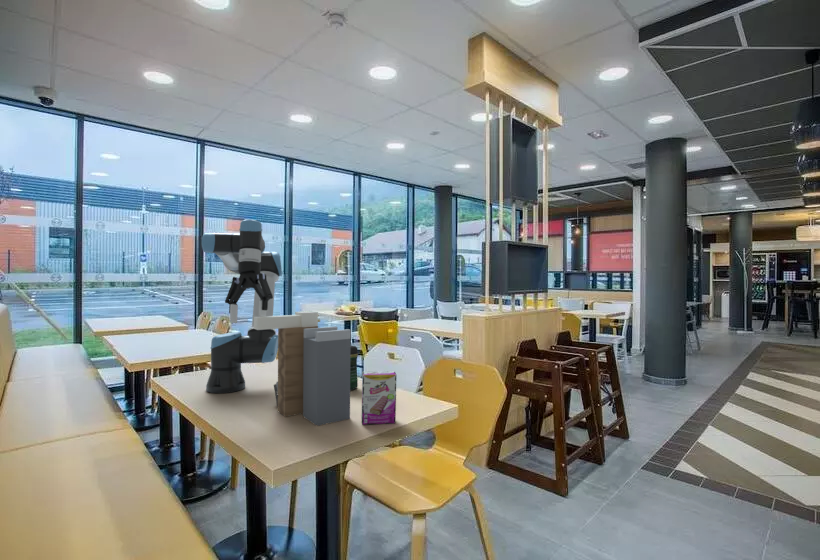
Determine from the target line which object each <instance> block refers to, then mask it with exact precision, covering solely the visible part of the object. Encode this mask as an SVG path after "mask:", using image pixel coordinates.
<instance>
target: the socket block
mask: <svg viewBox="0 0 820 560" xmlns="http://www.w3.org/2000/svg"><path fill="white" fill-rule="evenodd" d="M351 331H352V330H351V329H349V328H346V329H338V326H324V327H318V328H307V329H304V353H303V413H302V417H303V416H304V417H305V418H304V417H303V418H304V419H306V420H307V419H308V421H309V422H310V421H311V423H312V424H313V423H314V424H313V425H315V426H316V425H318V426H321V425H322V424H323V425H326V423H328V424H331V422H332V423H336V421H337V422H340V421H341V422H342V421H346V420H349V419H351V390H350V347H351V346H352V345H351V337H352V336H351V335H352V334H351ZM345 419H346V420H345Z"/></svg>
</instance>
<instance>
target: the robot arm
mask: <svg viewBox="0 0 820 560" xmlns="http://www.w3.org/2000/svg"><path fill="white" fill-rule="evenodd" d="M238 230H239V233H224V232H223V233H220V232H207V233H206V232H205V233H203V235H202V237H201V248H202V251H203V252H204V253H208V254H216V256H218V258H219V259H221V261H222V262H223V263H222V264H223V266H224V267H225V268H226V269H227V270H229V271H230V272H232V273H235V274H238V275H239V277H236V276H232V280H231V285H230V288H229V290H228V292H227V294H226V297H225V300H224V303H225V304H227V305H228V306H229V307H228V308H229V309H228V310H229V311H228V312H229V323H232V324H237V323H238V313H239V311H238V310H239V309H238V308H239V304H238V302H239V300H240V299H241V297H242V296H243V294H244V292H245V291H246V290H248V289H253V290H254V295H253V307H252V319H251V328H249V329H248V330H247V335H242V333H241V331H234V332H228V333H227V332H226V333H221V334H218V335H215V336H213V337H212V338H211V340H210V341H211V344H210V345H211V346H210V373H209V377H208V378H207V379H208V380H207V382H206V385H205V387H206V389H205V390H206V392H208V393H211V394H229V393H235V392H238V391H239V392H240V391H242V390H244V389H245V388H246V380H245V377H244V375H243V372H242V371H243V370H242V364H260V363H261V364H265V363H273V362H274V361H275V360H276V358H277V356H278V334H276V333H277V332H276V330H275V329H265V330H256V329H254V317H262V316H274V307H275V306H274V305H275V302H274V301H275V287H276V282H277V281H279V277H282V276H283V270H282V264H281V263H282V261H281V255H280V253H279V252H277V251H270V250H269V251H265V249H266V241H265V239H264V238H263V233H262V232H263V226H262V223H261V222H260V221H259V220H255V219H244V220H241V222H240V224H239V229H238Z"/></svg>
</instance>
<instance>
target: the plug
mask: <svg viewBox="0 0 820 560" xmlns="http://www.w3.org/2000/svg"><path fill="white" fill-rule="evenodd" d="M319 316H320V315H319V312H318V311H313V310H311V311H310V310H308V311H307V310H305V311H294V314H289V315H288V314H287V315H286V314H285V315H273V316H262V317H254V329H256V330H265V329H273V330H275V329H277V330H278V329H280V328H295V327H315V326H318V327H319V325H318V324H319V323H321V319H319Z"/></svg>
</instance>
